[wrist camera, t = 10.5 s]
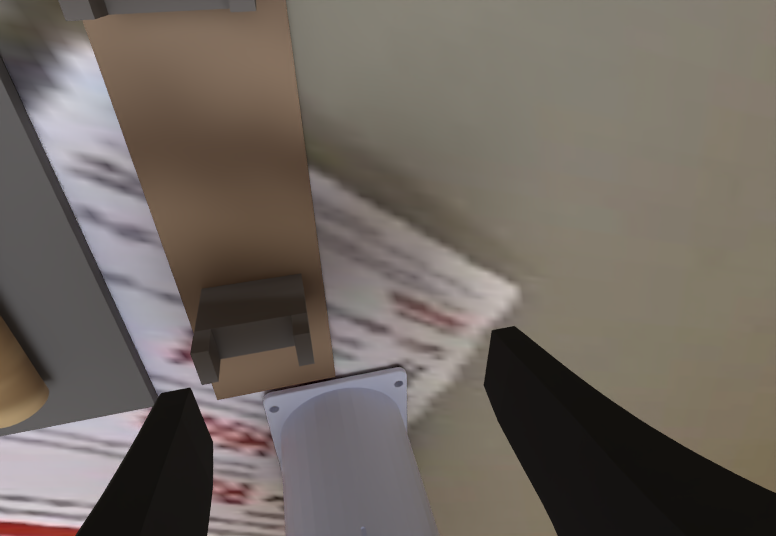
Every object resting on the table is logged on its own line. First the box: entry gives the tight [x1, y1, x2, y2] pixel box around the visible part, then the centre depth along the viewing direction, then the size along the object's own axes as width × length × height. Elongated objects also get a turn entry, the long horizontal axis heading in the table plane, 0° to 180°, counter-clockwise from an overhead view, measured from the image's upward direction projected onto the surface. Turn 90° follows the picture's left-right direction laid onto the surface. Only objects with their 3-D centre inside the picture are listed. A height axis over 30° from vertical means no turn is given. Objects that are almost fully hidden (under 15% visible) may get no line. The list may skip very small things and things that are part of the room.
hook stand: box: [58, 0, 336, 400], centre depth 16 cm, size 24×6×5 cm, turn 2°
